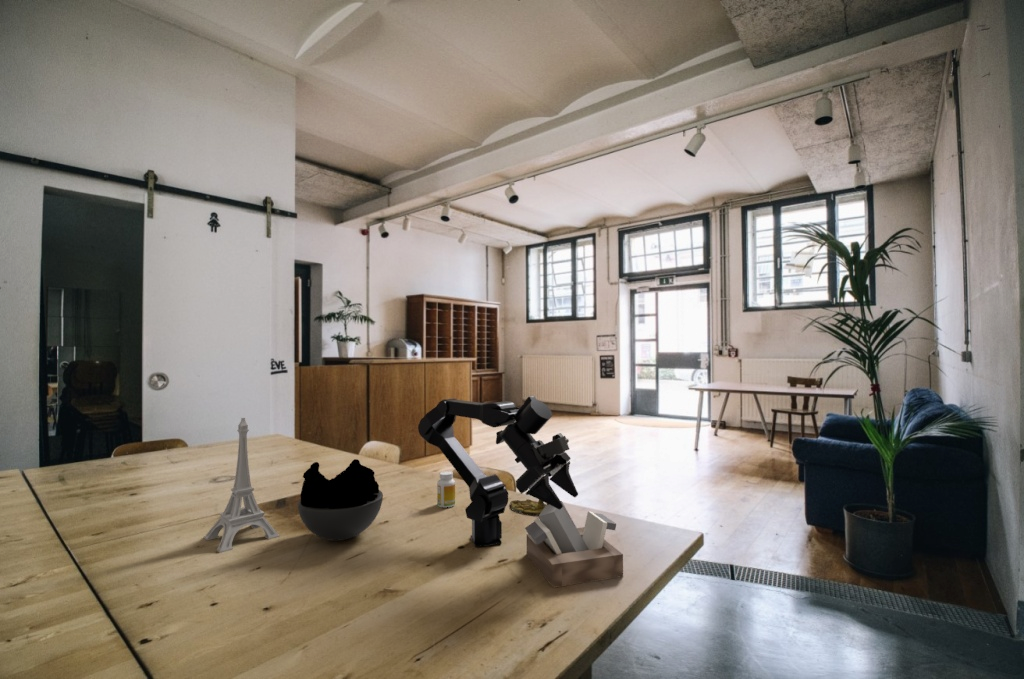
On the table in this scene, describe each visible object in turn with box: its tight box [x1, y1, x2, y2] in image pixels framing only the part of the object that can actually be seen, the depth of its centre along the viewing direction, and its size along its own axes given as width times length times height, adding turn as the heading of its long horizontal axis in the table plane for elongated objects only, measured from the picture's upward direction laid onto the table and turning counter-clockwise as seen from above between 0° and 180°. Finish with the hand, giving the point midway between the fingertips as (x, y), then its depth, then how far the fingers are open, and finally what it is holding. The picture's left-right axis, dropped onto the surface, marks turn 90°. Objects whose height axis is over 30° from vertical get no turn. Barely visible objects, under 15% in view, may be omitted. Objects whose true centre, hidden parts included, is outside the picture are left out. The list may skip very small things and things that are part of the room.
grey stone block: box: [537, 500, 588, 554], centre depth 103 cm, size 4×4×12 cm
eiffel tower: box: [203, 417, 281, 554], centre depth 119 cm, size 13×13×30 cm
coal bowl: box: [297, 458, 384, 541], centre depth 118 cm, size 20×20×19 cm
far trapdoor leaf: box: [582, 511, 617, 550], centre depth 104 cm, size 9×7×4 cm
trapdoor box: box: [526, 526, 624, 588], centre depth 102 cm, size 16×16×4 cm
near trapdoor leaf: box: [524, 517, 562, 555], centre depth 100 cm, size 9×7×4 cm
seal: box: [509, 498, 549, 516], centre depth 138 cm, size 9×5×15 cm
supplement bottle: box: [436, 471, 456, 509], centre depth 142 cm, size 5×5×10 cm
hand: (569, 501), depth 103 cm, fingers open, 9 cm apart
